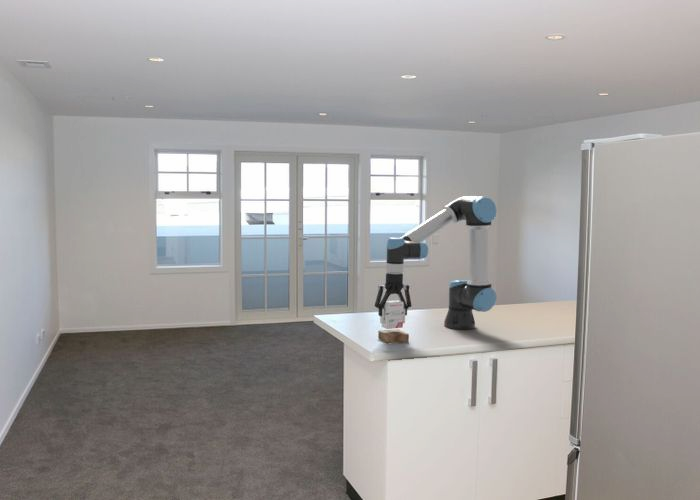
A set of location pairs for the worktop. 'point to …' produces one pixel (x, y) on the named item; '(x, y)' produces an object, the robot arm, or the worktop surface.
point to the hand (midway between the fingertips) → (392, 323)
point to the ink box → (393, 314)
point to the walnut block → (393, 336)
